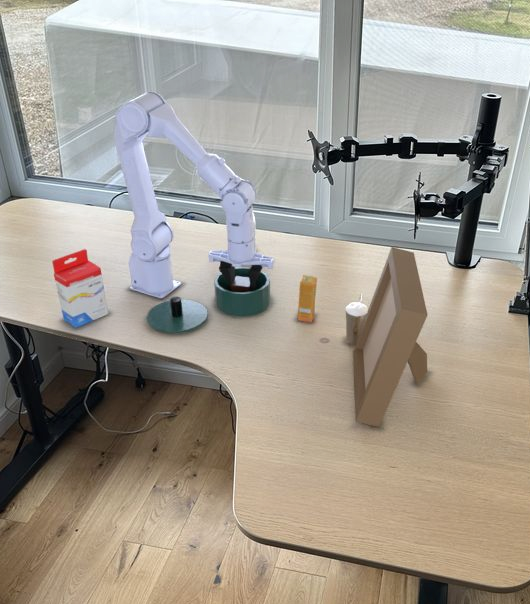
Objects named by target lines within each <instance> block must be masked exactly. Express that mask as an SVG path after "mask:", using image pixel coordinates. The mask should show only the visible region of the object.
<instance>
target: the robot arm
mask: <svg viewBox="0 0 530 604" xmlns="http://www.w3.org/2000/svg"><path fill="white" fill-rule="evenodd" d="M114 116H115V119H116V122H115V127H114V131H113V141H114V145H115V148H116V153H117V157H118V161H119V163H120V164H119V165H120V168H121V171H122V176H123V178H124V183H125V187H126V190H127V194H128V198H129V201H130V205H131V209H132V214H133V217H134V218H133V222H132V225H131V226H130V227H131V228H130V235H131V241H130V248H131V250H132V252H131V254H130V256H129V260H128V267H129V274H130V282H131V286H130V287H129V289H130V290H131V291H135V292H138V293H142V294H145V295H148V296H151V297H155V298H157V299H164V298H165V297H166V296H168V295H169V294H170V293H172V292H174V291H175V290H176V289H177V288H179V287H180V286H182V282H181V281H178V280H175V279H174V277H173V276H174V275H173V268H172V267H173V265H172V258H171V256H172V255H171V247H170V245H171V243H172V242H173V240H174V236H175V235H174V230H173V227H171V225H170V224H169V222H168V220H167V216H166V215H165V214H164V213H163V212H160V210H159V207H158V203H157V202H158V201H157V198H156V193H155V190H154V185H153V182H152V178H151V174H150V170H149V165H148V162H147V161H148V160H147V157H146V152H145V149H144V144H143V140H144V139H145V138H146V136H147V137H150V138H164V139H166V140H168V142H170V143H171V144H172V145H173V146H174V147H175V148H176V149H177V150H179V151H180V153H181V154H183V155H184V156H185V157H186V158H187V159H188V160H189V161H191V163H193V164H194V165H195V168H196V175H197V177H199V179H201V180H202V181H203V183H205V185H207V186H208V188H210V190H211V191H212V192H213V193H214V194H215V195H216V196H217V197H218V198H219V199H220V201H219V203H220V207H221V208H222V211H224V213H225V216H226V217H225V218H226V219H225V220H226V221H225V223H226V238H227V239H226V240H227V241H226V243H227V250H210V251H209V253H208V262H209V263H215V262H219V266H218V271H219V273H222V275H223V276H224V278H225V280H226V282H227V284H228V287H229V290H230V291H231V284H232V282H233V280H234V279H235V268H236V267H243V266H249V267H250V269H249V271H248V275H249V280H250V292H252V291H255V290H256V284H257V281H258V278H259V275H260V272H261V270H262V271H263V269H264V268H267V269H268V270H273V269H274V267H275V257H272V256H267V255H264V254H260V253H258V252H256V253H254V232H253V213H254V209H253V206H252V205H253V204H254V203H255V201H256V198H257V191H256V188H255V187H254V185H253V184H252V182H251V181H250V180H248V179H245V178H241V177H240V176H238V175H236V173H234V171H233V170H232V169H231V168H230V167H229V166H228V165H227V164H226V163H227V160H225V158H223V157H219V156H218V155H217V154H216V153H215V154H214V153H208V152H207V151H206V150H205V149H204V147H203V146H202V145H201V143H199V141H198V140H197V139H196V138H195V137H194V136H193V134H192V133H191V132H190V131H189V130H188V129H187V127H186V125H184V124H183V122H182V121H181V120H180V119H179V118H178V117H177V115H176V113H175V110H174V108H173V106H172V105H171V104H170V103H168V102H166V100H165V98H164V97H163V96H162V95H161V94H160V93H158V92H156V91H154V90H153V91H152V90H149V91H145V92H143V93H142V94H141V95H139V96H137V97H135V98H134V99H131V100H129V101H126V102H124V103H122V105H121V106H120V107H119V108H118V110H116V112H115V113H114Z"/></svg>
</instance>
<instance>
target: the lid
mask: <svg viewBox="0 0 530 604" xmlns="http://www.w3.org/2000/svg"><path fill="white" fill-rule="evenodd" d="M208 317H209V316H208V310H207V308H206V307H205V305H203V304H202V303H200V302H197V301H195V300H191V299H182V297H180V296H172V297H170V299H169V300H165V301H163V302H160V303H158V304H156V305H155V306H153V307H151V308H150V309H149V311H148V312H147V314H146V321H147V324H148V325H149V326H150V328H152V329H154V330H155V331H158V332H161V333H165V334H183V333H187V332H190V331H193V330H196V329H197V328H200V327H201V326H203V325H204V324H205V323H206V322H207V319H208Z"/></svg>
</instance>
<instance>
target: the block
mask: <svg viewBox="0 0 530 604" xmlns="http://www.w3.org/2000/svg"><path fill="white" fill-rule="evenodd" d="M231 292H240V293H244V292H250V280H249V277H240V276H236V277H235V279H234V280H233V282H232V284H231Z"/></svg>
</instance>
